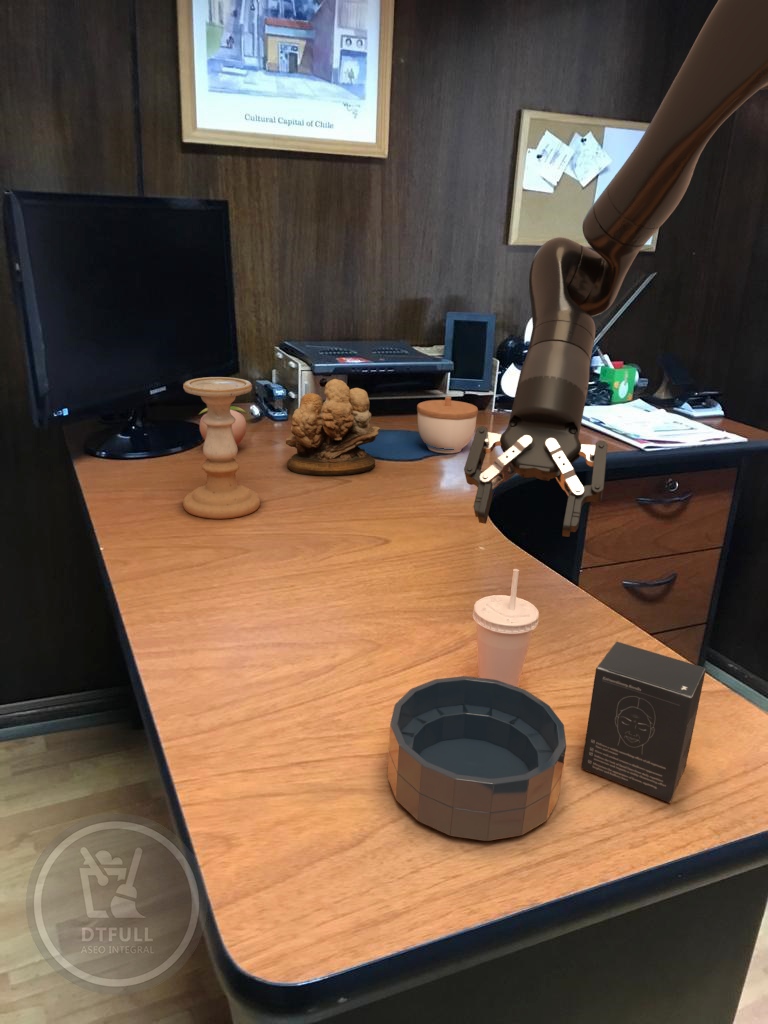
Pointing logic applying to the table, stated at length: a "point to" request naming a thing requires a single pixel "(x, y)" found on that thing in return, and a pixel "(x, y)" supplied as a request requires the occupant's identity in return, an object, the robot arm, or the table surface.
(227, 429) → the candle holder
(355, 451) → the owl figurine
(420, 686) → the bowl
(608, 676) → the box
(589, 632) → the table surface
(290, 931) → the table surface
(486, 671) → the smoothie
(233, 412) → the decorative fruit
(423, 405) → the lidded bowl
